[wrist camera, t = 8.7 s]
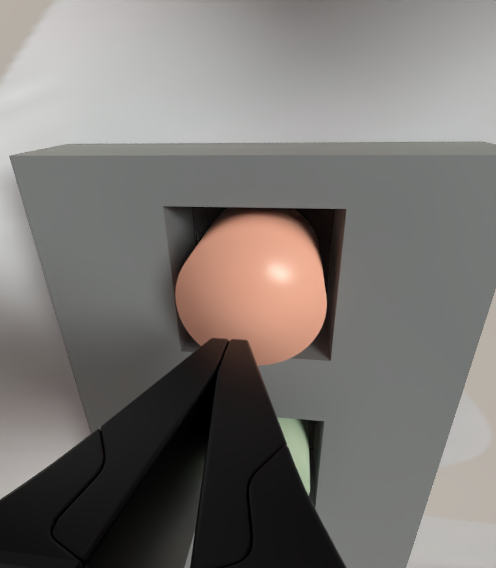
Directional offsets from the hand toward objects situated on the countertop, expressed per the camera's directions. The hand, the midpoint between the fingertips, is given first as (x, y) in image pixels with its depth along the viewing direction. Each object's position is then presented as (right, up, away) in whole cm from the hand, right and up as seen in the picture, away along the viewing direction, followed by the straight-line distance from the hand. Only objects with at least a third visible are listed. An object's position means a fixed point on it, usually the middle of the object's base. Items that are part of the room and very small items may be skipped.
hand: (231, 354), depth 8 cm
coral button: (+1, +3, +5) cm, 6 cm away
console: (+1, -4, +9) cm, 10 cm away
